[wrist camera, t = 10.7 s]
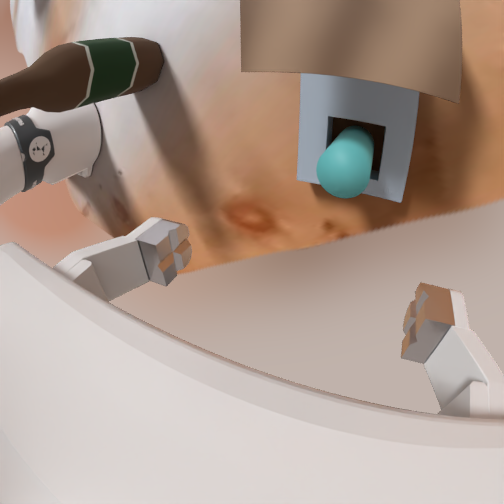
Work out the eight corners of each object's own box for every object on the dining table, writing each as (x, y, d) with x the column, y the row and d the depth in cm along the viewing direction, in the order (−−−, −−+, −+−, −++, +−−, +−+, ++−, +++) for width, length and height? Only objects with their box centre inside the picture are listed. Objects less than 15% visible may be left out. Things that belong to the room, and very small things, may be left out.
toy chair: (299, 75, 22) (225, 71, 12) (297, -29, 15) (224, -92, 5) (425, 95, 18) (468, 106, 8) (424, -16, 11) (448, -85, 1)
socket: (304, 170, 28) (296, 180, 26) (309, 19, 18) (300, 12, 16) (399, 191, 24) (401, 203, 22) (417, 34, 15) (421, 27, 13)
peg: (340, 122, 23) (318, 141, 16) (376, 129, 22) (373, 152, 15) (337, 156, 25) (314, 192, 18) (371, 163, 24) (365, 203, 17)
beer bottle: (143, 102, 31) (-30, 174, 13) (117, 68, 29) (-46, 121, 11) (176, 60, 26) (-34, 111, 8) (144, 26, 24) (-43, 59, 6)
